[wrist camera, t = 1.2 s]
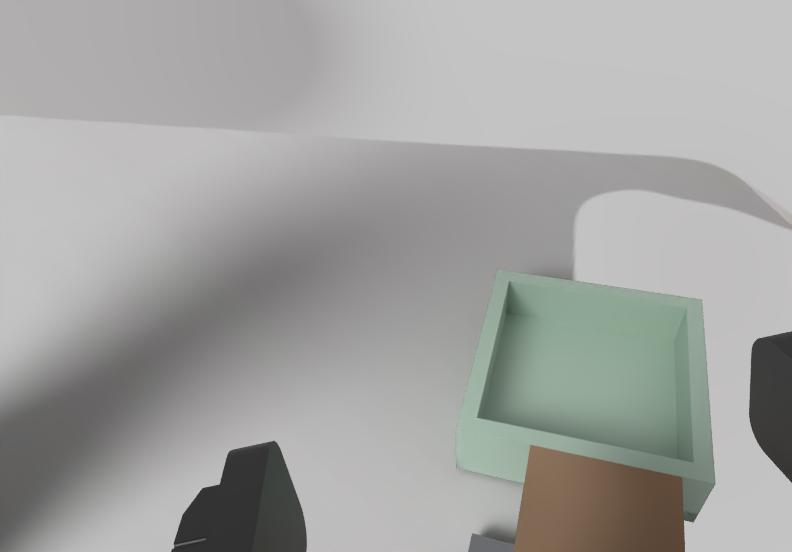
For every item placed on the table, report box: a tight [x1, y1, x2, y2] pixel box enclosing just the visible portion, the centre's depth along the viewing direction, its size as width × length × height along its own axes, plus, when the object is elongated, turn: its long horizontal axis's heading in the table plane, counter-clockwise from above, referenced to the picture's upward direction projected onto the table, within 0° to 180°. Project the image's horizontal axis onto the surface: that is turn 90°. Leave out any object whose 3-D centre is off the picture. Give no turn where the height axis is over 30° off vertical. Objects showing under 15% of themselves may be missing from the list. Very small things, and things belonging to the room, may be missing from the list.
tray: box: [456, 269, 715, 522], centre depth 33 cm, size 11×11×4 cm
